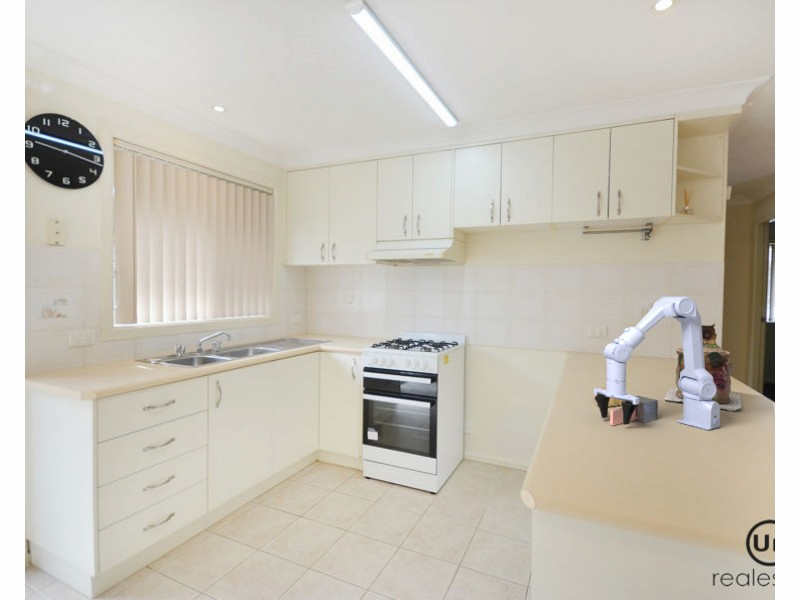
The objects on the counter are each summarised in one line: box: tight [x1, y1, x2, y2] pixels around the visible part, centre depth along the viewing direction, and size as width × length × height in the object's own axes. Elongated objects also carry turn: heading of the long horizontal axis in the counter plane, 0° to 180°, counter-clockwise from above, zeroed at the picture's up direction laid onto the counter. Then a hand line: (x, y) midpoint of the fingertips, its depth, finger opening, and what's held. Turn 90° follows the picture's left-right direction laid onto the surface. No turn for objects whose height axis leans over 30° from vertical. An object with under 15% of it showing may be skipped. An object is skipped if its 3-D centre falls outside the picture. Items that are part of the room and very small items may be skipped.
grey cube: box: [624, 395, 659, 424], centre depth 140 cm, size 7×8×7 cm
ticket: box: [609, 407, 637, 426], centre depth 135 cm, size 1×13×5 cm, turn 119°
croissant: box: [596, 386, 625, 408], centre depth 160 cm, size 21×10×8 cm, turn 133°
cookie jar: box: [663, 323, 743, 412], centre depth 164 cm, size 25×25×32 cm
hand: (615, 420), depth 133 cm, fingers open, 7 cm apart
